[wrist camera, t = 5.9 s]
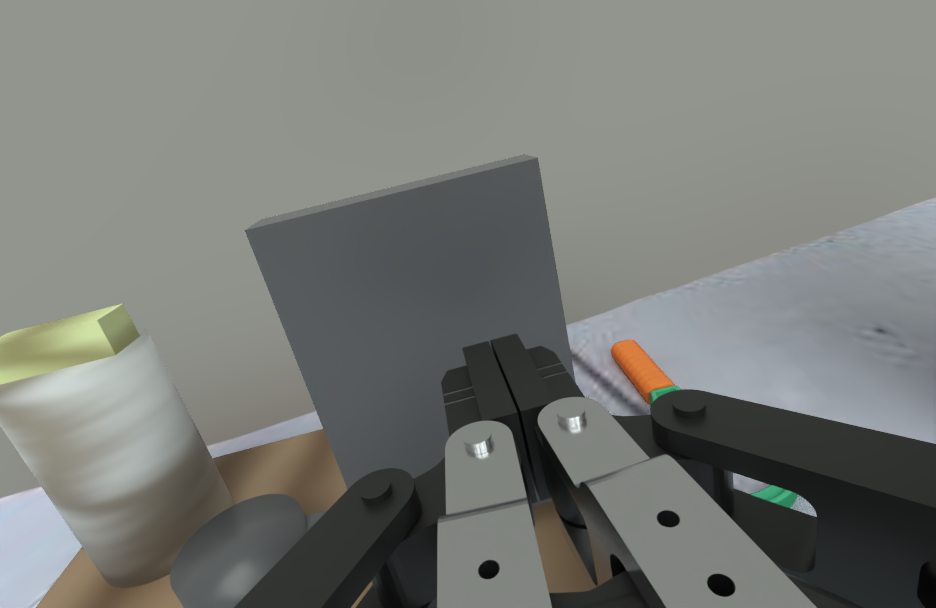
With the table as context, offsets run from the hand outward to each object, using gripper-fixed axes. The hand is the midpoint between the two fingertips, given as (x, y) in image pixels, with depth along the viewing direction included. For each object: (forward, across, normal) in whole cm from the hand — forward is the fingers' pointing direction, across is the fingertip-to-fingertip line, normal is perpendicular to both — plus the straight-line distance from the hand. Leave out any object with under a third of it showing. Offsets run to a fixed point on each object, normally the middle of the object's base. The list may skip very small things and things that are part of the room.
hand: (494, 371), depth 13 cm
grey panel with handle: (+5, +5, +9) cm, 12 cm away
